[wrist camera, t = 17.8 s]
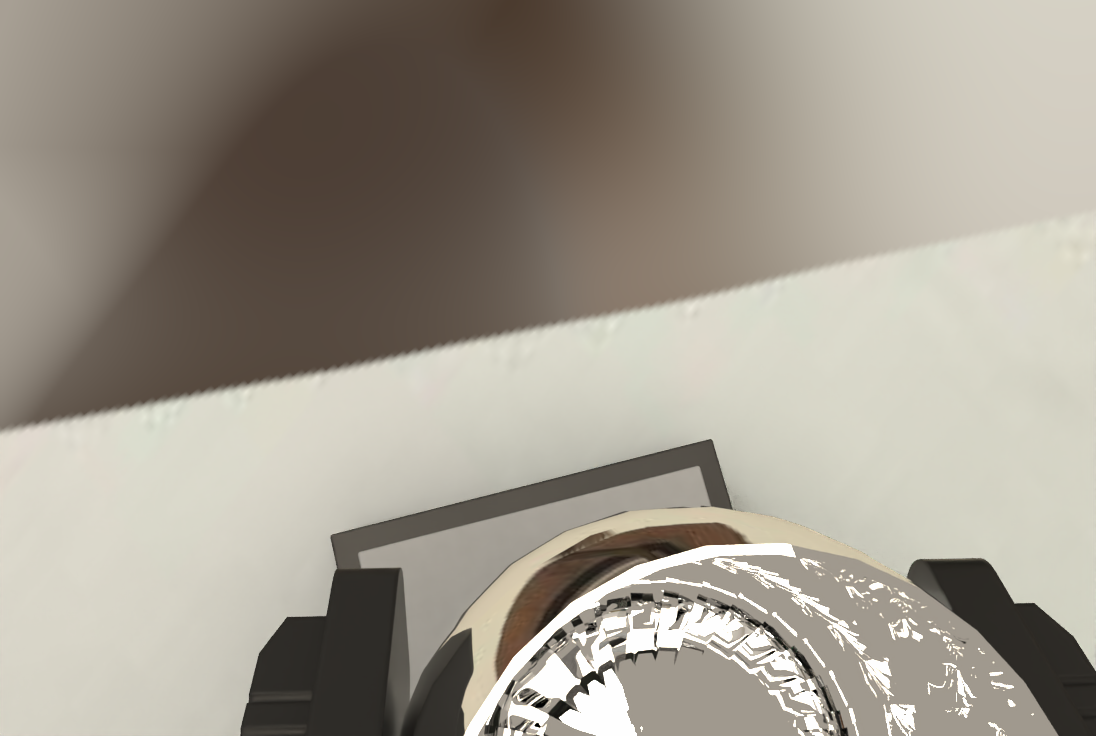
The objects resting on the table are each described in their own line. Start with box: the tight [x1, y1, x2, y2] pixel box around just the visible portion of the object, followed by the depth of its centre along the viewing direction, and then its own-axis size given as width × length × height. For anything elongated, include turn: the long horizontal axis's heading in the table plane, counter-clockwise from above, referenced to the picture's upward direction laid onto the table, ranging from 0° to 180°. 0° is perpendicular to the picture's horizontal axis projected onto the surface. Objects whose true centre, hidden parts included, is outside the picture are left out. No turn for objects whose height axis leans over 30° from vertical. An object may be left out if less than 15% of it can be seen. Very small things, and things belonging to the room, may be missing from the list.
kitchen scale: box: [331, 439, 733, 700], centre depth 25 cm, size 10×10×3 cm
